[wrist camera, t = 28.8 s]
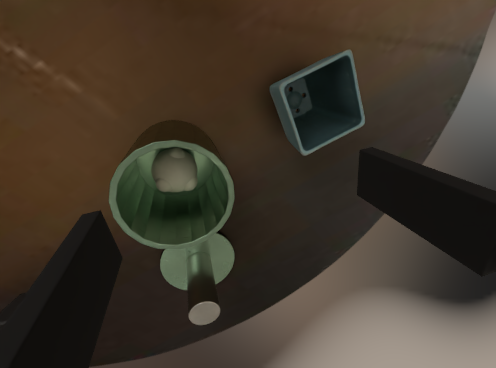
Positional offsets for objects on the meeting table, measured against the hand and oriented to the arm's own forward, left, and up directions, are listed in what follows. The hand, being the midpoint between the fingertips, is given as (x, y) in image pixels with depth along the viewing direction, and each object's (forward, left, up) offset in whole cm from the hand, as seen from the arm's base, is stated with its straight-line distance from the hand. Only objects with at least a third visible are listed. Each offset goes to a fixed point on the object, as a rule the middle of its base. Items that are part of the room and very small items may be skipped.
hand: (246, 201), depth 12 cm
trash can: (+4, -5, -24) cm, 24 cm away
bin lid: (+21, -6, -23) cm, 32 cm away
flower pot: (-1, +13, -24) cm, 27 cm away
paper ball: (+4, -5, -20) cm, 21 cm away
